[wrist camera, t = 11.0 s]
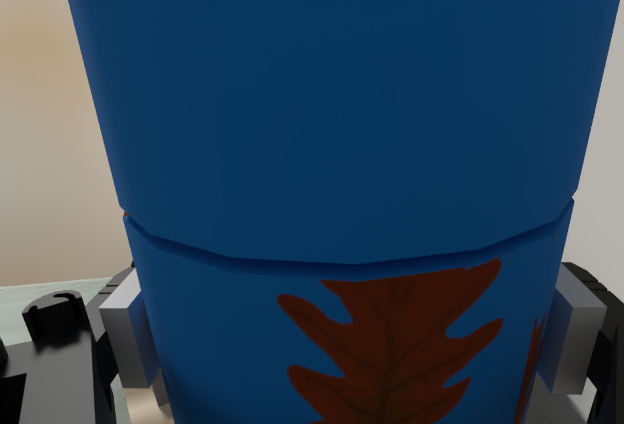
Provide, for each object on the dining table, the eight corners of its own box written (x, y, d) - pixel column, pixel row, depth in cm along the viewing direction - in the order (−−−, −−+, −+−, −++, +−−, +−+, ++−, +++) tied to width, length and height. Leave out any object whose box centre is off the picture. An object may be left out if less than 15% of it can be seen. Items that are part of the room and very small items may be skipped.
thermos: (246, 434, 22) (161, -105, 13) (435, 431, 22) (493, -126, 12) (187, 748, 12) (-401, -658, 3) (532, 750, 12) (1211, -841, 2)
